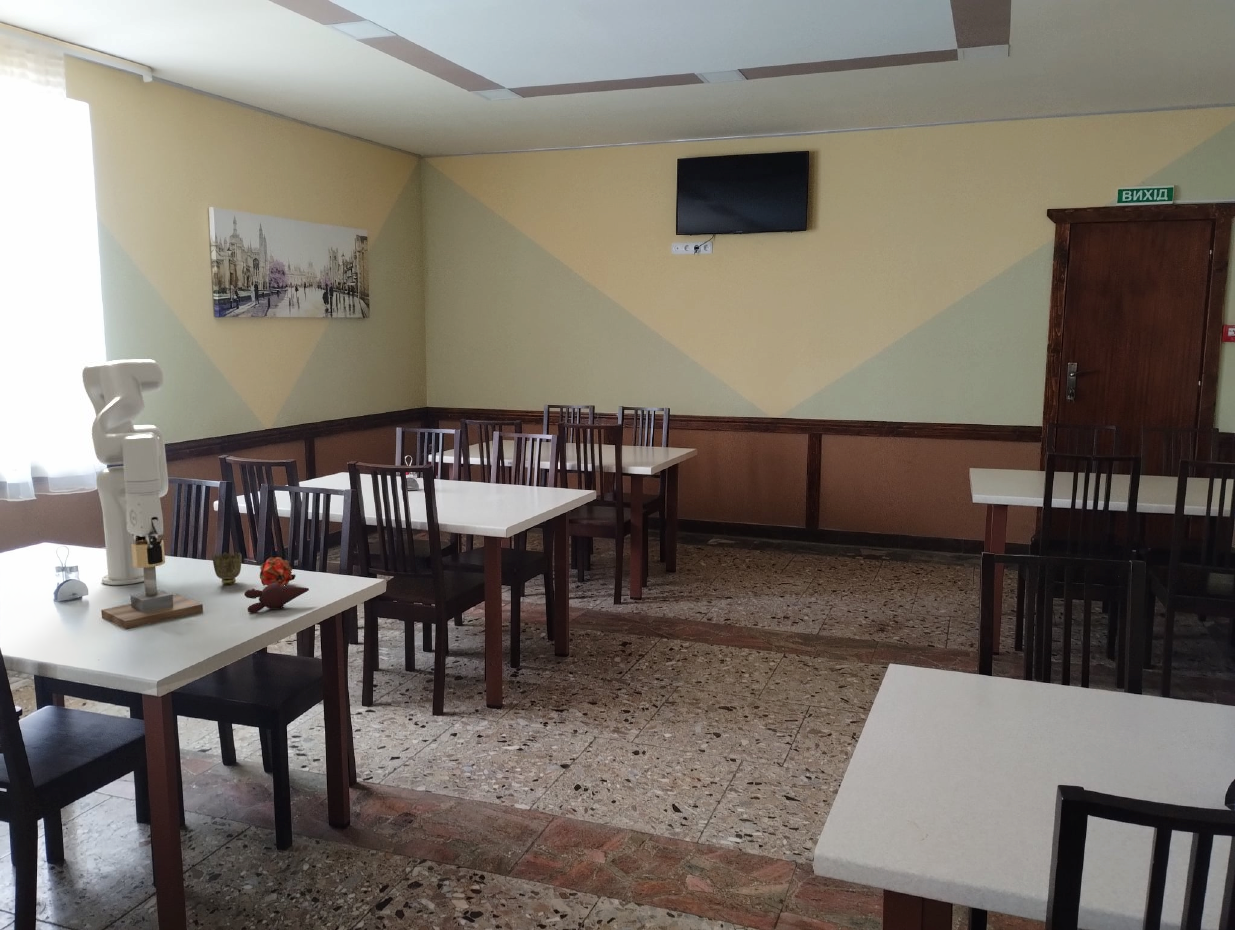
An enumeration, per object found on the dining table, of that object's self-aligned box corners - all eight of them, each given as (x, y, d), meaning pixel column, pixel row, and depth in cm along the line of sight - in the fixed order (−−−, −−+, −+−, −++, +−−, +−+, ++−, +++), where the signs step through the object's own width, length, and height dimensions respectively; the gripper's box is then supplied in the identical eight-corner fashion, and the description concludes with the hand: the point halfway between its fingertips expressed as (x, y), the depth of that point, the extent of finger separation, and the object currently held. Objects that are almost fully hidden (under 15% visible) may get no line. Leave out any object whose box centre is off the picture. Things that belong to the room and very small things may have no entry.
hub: (129, 564, 227) (127, 542, 226) (157, 560, 232) (155, 538, 231) (140, 569, 223) (139, 546, 222) (168, 563, 228) (167, 541, 227)
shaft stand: (101, 617, 227) (97, 564, 225) (177, 601, 240) (173, 551, 239) (125, 629, 218) (121, 574, 216) (203, 612, 231) (199, 559, 229)
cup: (248, 580, 261) (246, 552, 260) (235, 587, 254) (233, 558, 252) (222, 580, 262) (220, 551, 260) (208, 587, 254) (206, 558, 253)
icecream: (304, 575, 240) (241, 588, 233) (308, 574, 234) (244, 588, 227) (309, 602, 240) (246, 616, 233) (314, 602, 233) (250, 616, 226)
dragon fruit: (275, 586, 261) (284, 603, 251) (248, 572, 256) (256, 588, 246) (294, 560, 261) (303, 576, 251) (267, 546, 257) (275, 561, 247)
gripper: (111, 485, 228) (117, 558, 230) (142, 492, 216) (148, 569, 219) (144, 482, 233) (149, 553, 236) (175, 488, 222) (180, 563, 224)
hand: (148, 560), depth 227 cm, fingers closed on hub, 6 cm apart
